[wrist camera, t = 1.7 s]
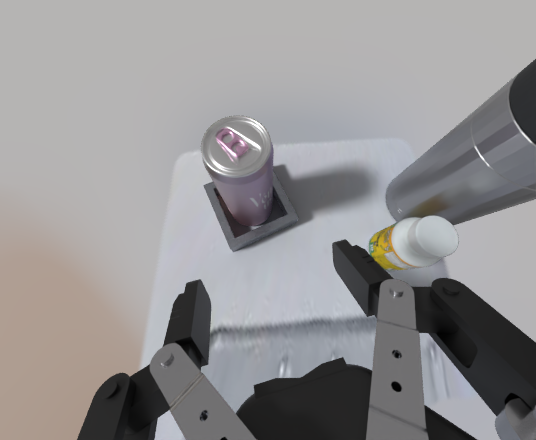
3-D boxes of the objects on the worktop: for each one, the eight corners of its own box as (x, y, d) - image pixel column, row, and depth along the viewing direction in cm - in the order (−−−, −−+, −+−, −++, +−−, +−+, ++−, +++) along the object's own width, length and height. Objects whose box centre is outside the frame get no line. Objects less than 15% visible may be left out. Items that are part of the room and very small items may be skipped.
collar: (267, 167, 34) (267, 158, 31) (296, 222, 31) (298, 217, 29) (208, 192, 33) (203, 185, 30) (233, 251, 30) (230, 248, 28)
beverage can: (251, 180, 33) (237, 101, 19) (280, 207, 32) (289, 143, 17) (222, 207, 32) (182, 144, 17) (250, 236, 31) (234, 193, 16)
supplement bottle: (390, 279, 29) (447, 277, 20) (357, 251, 30) (396, 237, 21) (413, 249, 30) (477, 234, 21) (381, 223, 31) (428, 198, 22)
